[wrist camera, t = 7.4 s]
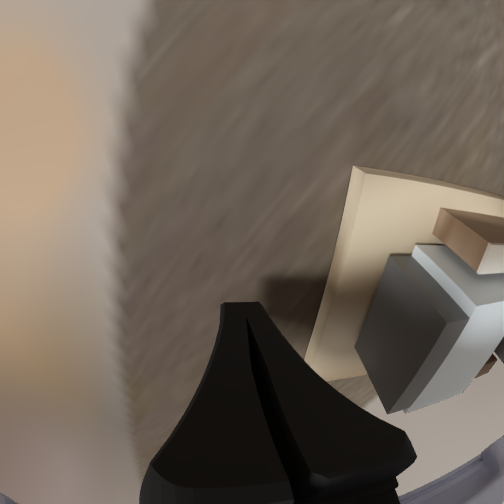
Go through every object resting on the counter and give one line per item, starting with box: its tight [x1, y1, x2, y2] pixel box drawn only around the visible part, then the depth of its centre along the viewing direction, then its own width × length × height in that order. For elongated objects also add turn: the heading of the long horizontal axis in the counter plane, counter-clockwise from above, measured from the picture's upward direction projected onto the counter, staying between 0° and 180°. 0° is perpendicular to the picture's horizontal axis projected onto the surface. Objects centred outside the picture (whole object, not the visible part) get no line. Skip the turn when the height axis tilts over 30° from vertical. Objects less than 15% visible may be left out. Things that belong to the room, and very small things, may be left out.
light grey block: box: [354, 245, 504, 414], centre depth 11 cm, size 8×6×4 cm
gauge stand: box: [304, 166, 504, 381], centre depth 11 cm, size 11×14×8 cm
